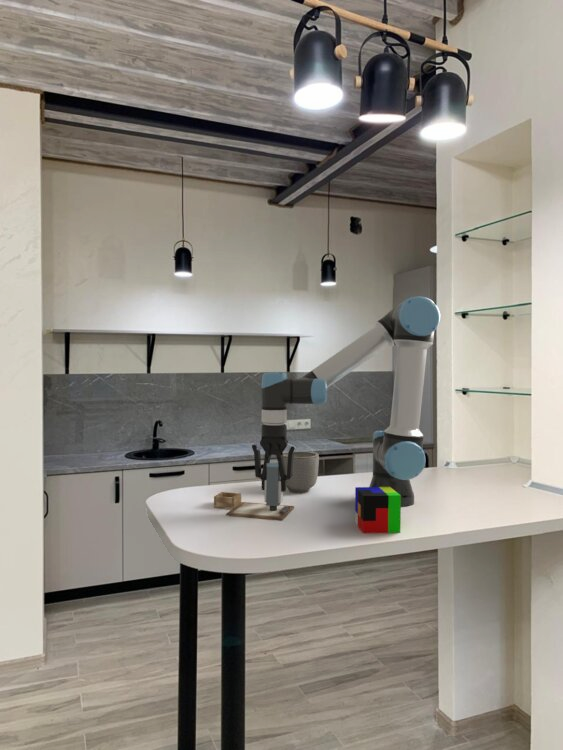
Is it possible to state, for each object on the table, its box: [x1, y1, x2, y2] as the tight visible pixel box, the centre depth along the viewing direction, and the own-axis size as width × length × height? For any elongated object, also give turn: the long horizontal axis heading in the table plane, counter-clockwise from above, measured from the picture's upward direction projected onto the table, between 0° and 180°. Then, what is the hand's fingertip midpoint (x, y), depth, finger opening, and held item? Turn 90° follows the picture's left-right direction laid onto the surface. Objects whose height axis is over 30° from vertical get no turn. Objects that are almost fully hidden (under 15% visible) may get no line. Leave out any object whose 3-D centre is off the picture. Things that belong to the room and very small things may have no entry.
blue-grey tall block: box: [265, 461, 281, 511], centre depth 164 cm, size 4×4×14 cm
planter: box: [283, 450, 320, 494], centre depth 192 cm, size 14×14×13 cm
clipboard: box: [225, 501, 295, 521], centre depth 165 cm, size 17×14×1 cm
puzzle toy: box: [354, 486, 402, 534], centre depth 150 cm, size 10×10×10 cm
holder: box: [213, 491, 242, 510], centre depth 171 cm, size 7×7×3 cm
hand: (273, 501), depth 164 cm, fingers closed on blue-grey tall block, 3 cm apart
